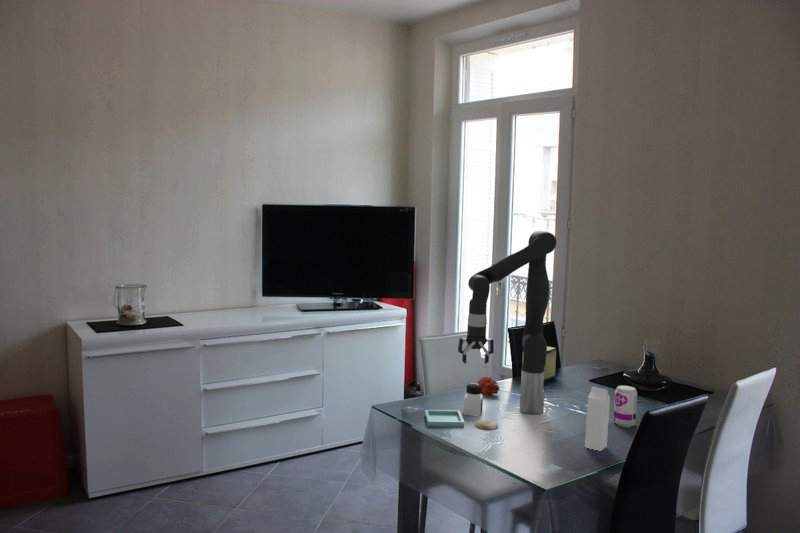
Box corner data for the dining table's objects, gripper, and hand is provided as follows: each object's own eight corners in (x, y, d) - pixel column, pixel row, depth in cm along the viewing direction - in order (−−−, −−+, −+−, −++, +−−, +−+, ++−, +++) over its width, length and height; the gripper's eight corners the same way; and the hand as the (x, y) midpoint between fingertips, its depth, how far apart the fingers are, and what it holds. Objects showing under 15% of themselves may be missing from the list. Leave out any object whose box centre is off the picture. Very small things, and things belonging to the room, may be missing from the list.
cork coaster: (495, 421, 262) (495, 420, 262) (500, 430, 253) (500, 428, 253) (473, 421, 262) (473, 420, 262) (476, 429, 253) (476, 428, 253)
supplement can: (624, 429, 259) (627, 391, 257) (608, 422, 266) (611, 386, 264) (639, 426, 262) (642, 389, 261) (623, 419, 270) (626, 384, 268)
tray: (459, 415, 269) (459, 410, 269) (464, 427, 255) (464, 422, 255) (425, 414, 268) (425, 409, 268) (428, 426, 254) (428, 421, 254)
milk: (590, 443, 242) (594, 384, 240) (607, 447, 239) (610, 388, 237) (584, 448, 238) (588, 388, 235) (601, 452, 234) (605, 391, 232)
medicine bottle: (480, 416, 268) (482, 387, 267) (463, 414, 269) (464, 386, 268) (482, 411, 275) (483, 383, 274) (465, 409, 276) (466, 381, 275)
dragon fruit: (478, 393, 304) (497, 404, 296) (469, 386, 299) (488, 396, 290) (487, 378, 306) (507, 388, 297) (479, 370, 301) (498, 380, 292)
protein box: (555, 378, 329) (557, 347, 328) (539, 384, 318) (541, 352, 316) (536, 373, 336) (538, 343, 335) (520, 379, 325) (522, 348, 323)
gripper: (492, 322, 272) (490, 361, 274) (458, 322, 272) (456, 360, 273) (496, 326, 265) (494, 366, 267) (460, 325, 264) (459, 365, 266)
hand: (475, 363), depth 270 cm, fingers open, 8 cm apart
